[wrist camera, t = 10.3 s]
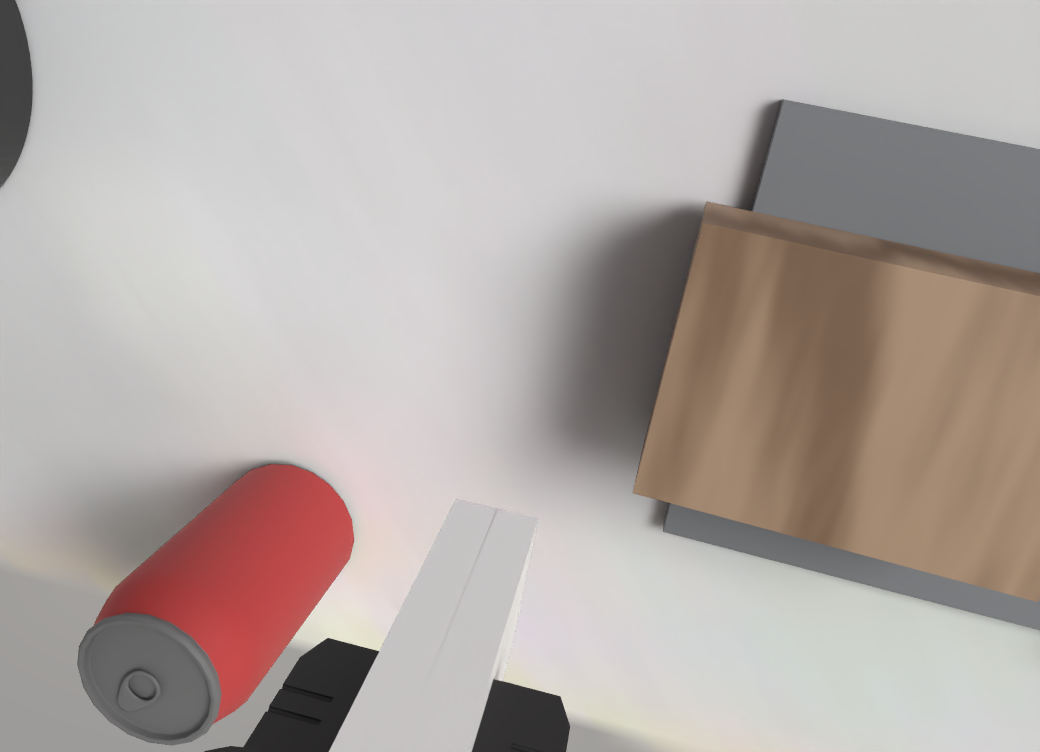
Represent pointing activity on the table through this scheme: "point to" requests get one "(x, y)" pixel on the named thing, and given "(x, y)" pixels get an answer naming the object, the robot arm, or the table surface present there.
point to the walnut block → (855, 398)
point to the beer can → (215, 605)
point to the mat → (903, 219)
